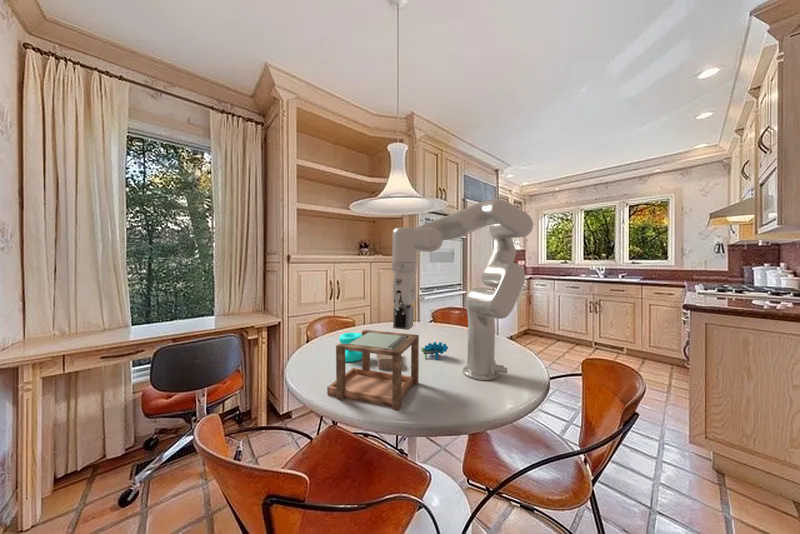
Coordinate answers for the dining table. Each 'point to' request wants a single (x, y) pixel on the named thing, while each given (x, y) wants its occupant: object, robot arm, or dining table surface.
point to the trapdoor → (379, 340)
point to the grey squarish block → (408, 317)
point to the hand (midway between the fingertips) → (403, 324)
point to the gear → (434, 349)
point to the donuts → (349, 355)
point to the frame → (376, 374)
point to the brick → (384, 361)
